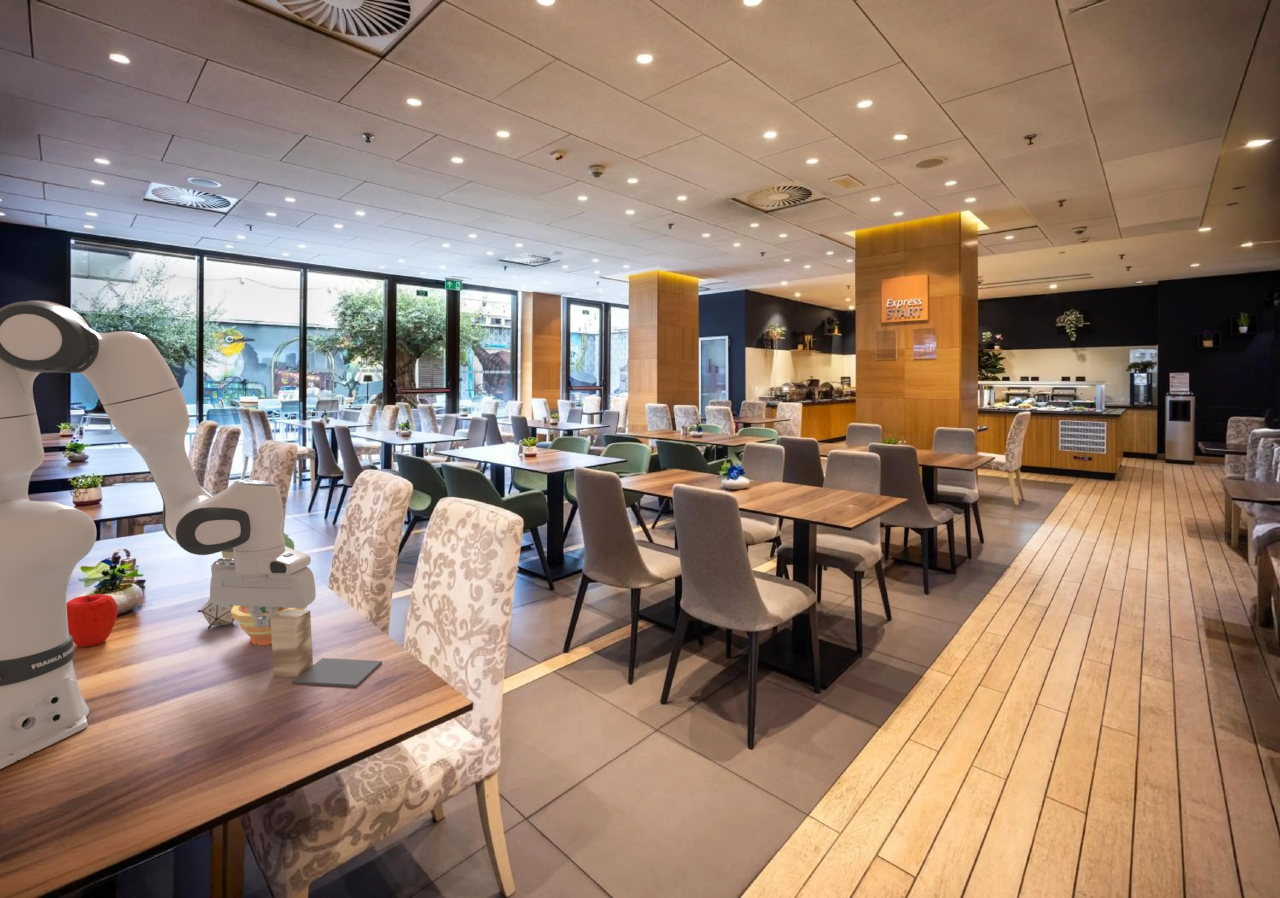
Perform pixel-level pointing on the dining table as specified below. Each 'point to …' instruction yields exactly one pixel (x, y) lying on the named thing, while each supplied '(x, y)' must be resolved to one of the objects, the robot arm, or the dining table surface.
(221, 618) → the game die
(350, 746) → the dining table surface
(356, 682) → the mat
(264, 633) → the potted cactus
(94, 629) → the apple
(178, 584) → the dining table surface
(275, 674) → the birch block
